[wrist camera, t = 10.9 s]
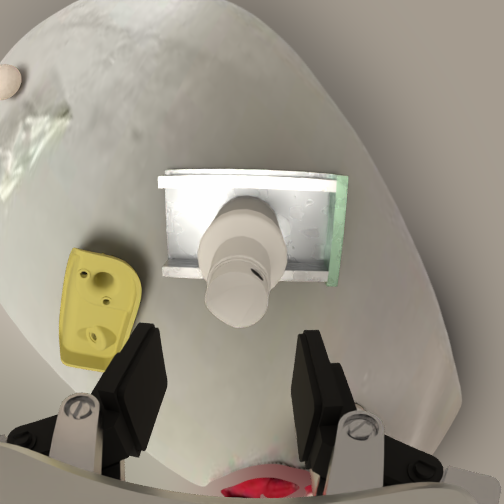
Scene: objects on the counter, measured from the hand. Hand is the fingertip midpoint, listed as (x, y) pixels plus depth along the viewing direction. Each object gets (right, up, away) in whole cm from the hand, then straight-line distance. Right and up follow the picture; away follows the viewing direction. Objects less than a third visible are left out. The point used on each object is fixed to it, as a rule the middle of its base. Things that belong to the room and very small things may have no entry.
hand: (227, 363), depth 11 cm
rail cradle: (0, +7, +23) cm, 24 cm away
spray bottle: (0, +7, +23) cm, 24 cm away
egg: (-33, +28, +17) cm, 47 cm away
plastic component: (-19, -3, +27) cm, 34 cm away
